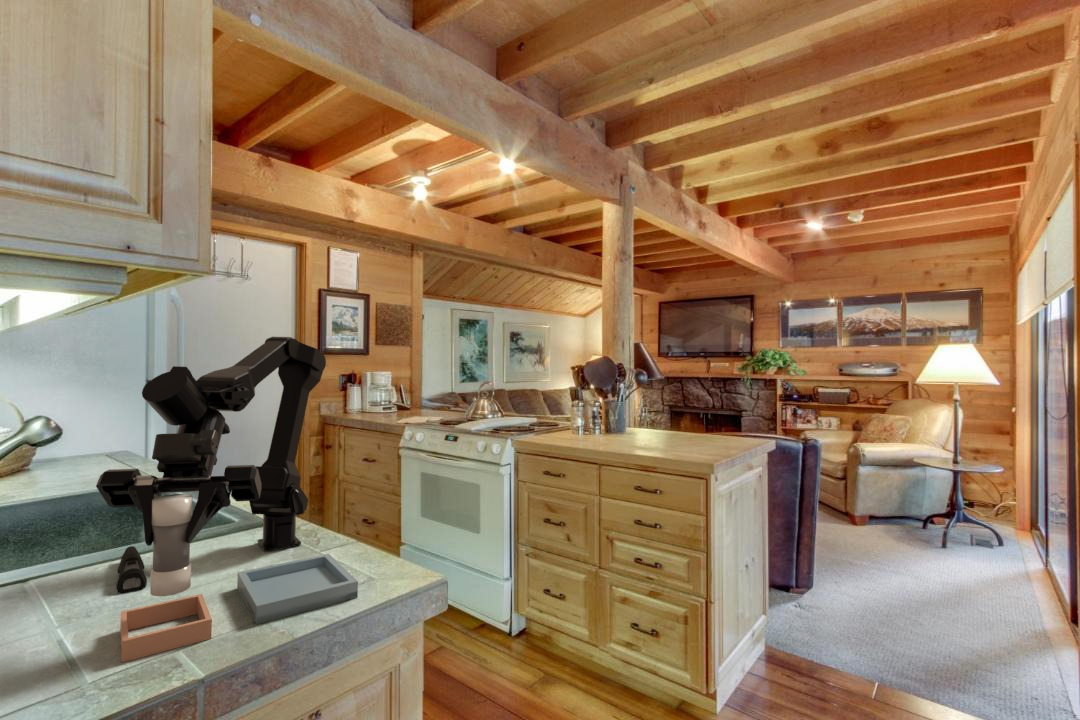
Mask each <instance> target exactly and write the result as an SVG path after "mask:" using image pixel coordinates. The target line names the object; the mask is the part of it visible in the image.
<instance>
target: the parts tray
mask: <svg viewBox="0 0 1080 720" xmlns="http://www.w3.org/2000/svg"><path fill="white" fill-rule="evenodd" d="M236 579H237V581H236V582H237V583H236V584H237V585H236V586H237V591H238V593H239V594H240V596H241V597H242V600H243V602H244V604H245V606H246V607H247V609H248V611H249V613H250V615H251V617H252V619H253V620H254V623H255V624H256V625H259V624H262V623H267V622H270V621H274V620H278V619H281V618H286V617H289V616H292V615H297V614H299V613H304V612H307V611H308V612H309V611H311V610H316V609H319V608H324V607H328V606H331V605H334V604H339V603H342V602H345V601H344V600H346V601H349V600H348V599H350V600H354V599H357V598H358V596H359V595H358V591H359V581H358V580H357V579H356V578H355V577H354V576H353V575H352V574H351V573H350V572H349V571H348V570H347V569H346V568H344V567H343V566H342V565H341V563H339V561H337V560H336V559H335V558H334V557H333V556H332V555H331V554H330V553H326V554H319V555H316V556H311V557H306V558H301V559H296V560H291V561H288V562H287V561H286V562H282V563H276V564H272V565H268V566H267V565H266V566H263V567H262V566H261V567H258V568H253V569H249V570H242V571H239V572H237V578H236ZM353 598H354V599H353ZM341 601H342V602H341ZM338 602H339V603H338Z"/></svg>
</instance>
